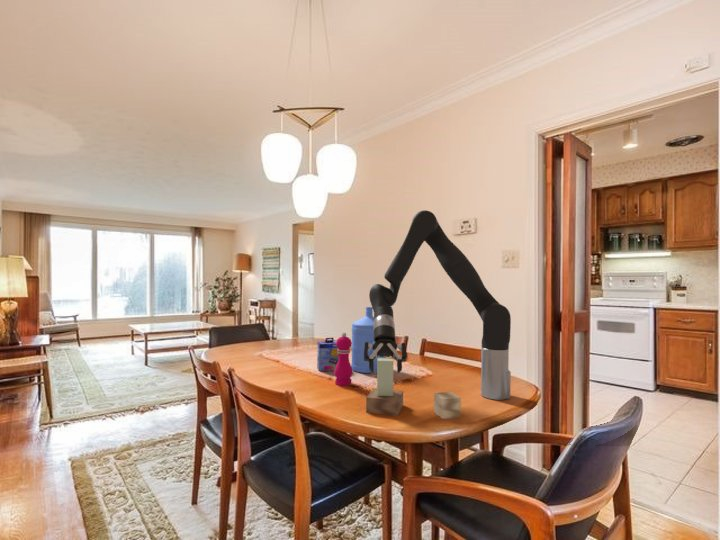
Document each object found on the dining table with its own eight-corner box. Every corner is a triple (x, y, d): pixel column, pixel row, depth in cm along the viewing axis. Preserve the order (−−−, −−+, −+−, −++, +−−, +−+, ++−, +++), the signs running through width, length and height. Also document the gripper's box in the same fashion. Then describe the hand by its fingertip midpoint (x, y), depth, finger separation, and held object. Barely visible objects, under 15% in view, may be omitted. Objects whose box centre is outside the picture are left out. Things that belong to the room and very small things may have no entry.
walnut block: (402, 406, 126) (403, 391, 126) (397, 417, 117) (398, 400, 117) (373, 403, 129) (373, 388, 129) (366, 413, 119) (366, 397, 119)
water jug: (346, 371, 168) (347, 308, 168) (357, 364, 183) (358, 305, 183) (380, 375, 163) (381, 309, 163) (389, 367, 178) (390, 306, 178)
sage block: (392, 391, 126) (392, 357, 126) (393, 396, 121) (393, 360, 121) (377, 391, 126) (377, 357, 126) (377, 395, 121) (377, 360, 121)
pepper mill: (336, 386, 146) (337, 334, 146) (332, 381, 153) (333, 331, 153) (354, 385, 148) (355, 333, 148) (350, 380, 155) (350, 331, 155)
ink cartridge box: (318, 371, 168) (319, 338, 168) (316, 368, 173) (316, 336, 174) (340, 370, 171) (341, 337, 171) (337, 367, 176) (338, 335, 177)
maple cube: (451, 410, 122) (451, 391, 122) (460, 417, 116) (460, 397, 116) (433, 412, 121) (434, 393, 121) (442, 419, 115) (442, 399, 115)
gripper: (364, 323, 132) (363, 364, 121) (405, 324, 132) (408, 365, 121) (363, 336, 138) (363, 377, 126) (403, 337, 138) (406, 377, 126)
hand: (385, 371), depth 123 cm, fingers open, 8 cm apart
